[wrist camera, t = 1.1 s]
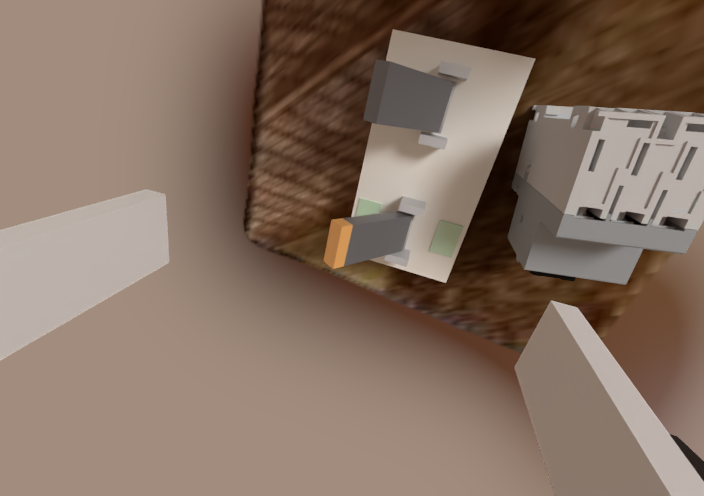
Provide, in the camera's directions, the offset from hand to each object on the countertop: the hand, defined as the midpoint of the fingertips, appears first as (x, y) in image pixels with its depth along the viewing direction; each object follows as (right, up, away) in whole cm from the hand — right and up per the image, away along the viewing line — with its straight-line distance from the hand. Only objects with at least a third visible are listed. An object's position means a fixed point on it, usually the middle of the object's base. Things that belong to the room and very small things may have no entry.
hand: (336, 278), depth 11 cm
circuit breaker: (+22, +8, +23) cm, 33 cm away
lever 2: (+6, +3, +23) cm, 24 cm away
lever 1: (+8, +13, +18) cm, 24 cm away
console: (+9, +10, +25) cm, 29 cm away
